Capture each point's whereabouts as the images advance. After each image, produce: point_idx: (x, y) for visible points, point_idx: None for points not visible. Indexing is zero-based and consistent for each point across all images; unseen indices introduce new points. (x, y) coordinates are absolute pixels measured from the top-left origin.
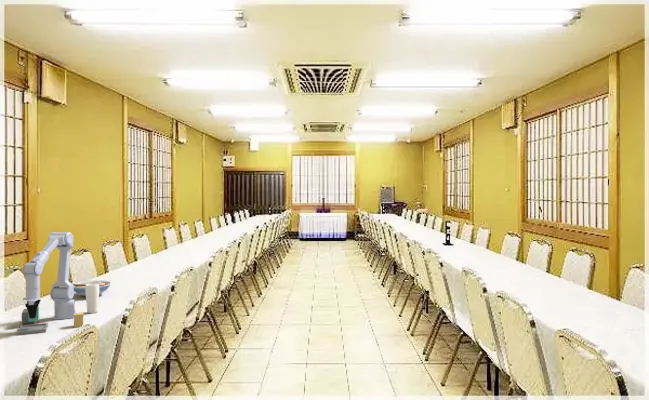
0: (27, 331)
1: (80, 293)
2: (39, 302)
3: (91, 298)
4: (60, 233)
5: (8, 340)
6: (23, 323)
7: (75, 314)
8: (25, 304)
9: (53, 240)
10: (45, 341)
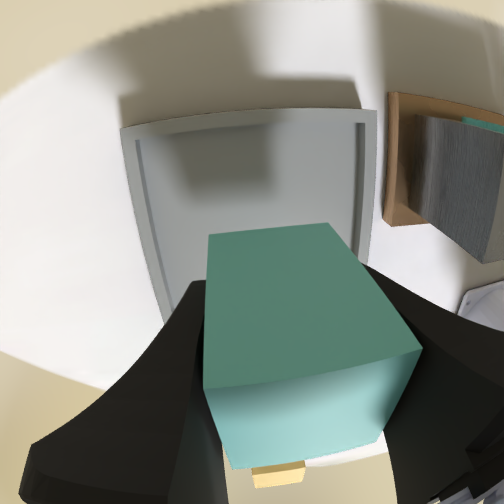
0: (134, 210)
1: None
2: (396, 488)
3: None
4: None
5: (9, 111)
6: (424, 128)
7: (264, 476)
8: (22, 496)
9: None
10: (3, 333)
